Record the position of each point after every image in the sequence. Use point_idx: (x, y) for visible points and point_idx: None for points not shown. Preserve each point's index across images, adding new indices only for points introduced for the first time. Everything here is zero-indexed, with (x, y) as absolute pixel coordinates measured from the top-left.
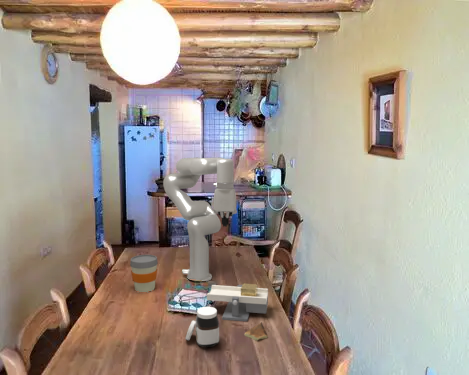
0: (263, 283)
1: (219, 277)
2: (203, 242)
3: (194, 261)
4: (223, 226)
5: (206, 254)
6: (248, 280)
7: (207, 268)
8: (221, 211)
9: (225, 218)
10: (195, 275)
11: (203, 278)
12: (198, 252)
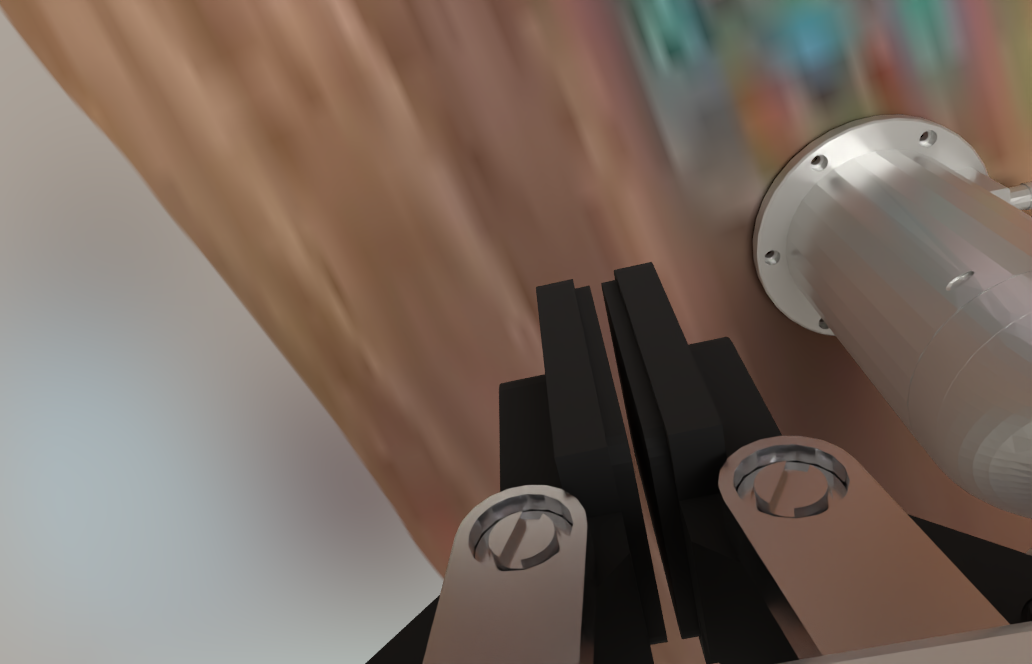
0: (290, 323)
1: (694, 308)
2: (1019, 374)
3: (996, 210)
4: (635, 271)
5: (893, 324)
6: (433, 337)
7: (819, 266)
8: (958, 633)
9: (591, 437)
10: (906, 160)
11: (817, 185)
12: (1009, 266)
